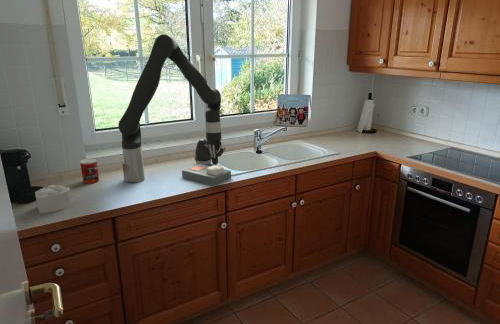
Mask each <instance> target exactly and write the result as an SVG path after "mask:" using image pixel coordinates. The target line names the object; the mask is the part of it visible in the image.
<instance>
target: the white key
mask: <svg viewBox="0 0 500 324" xmlns="http://www.w3.org/2000/svg"><path fill="white" fill-rule="evenodd" d="M210 166H211V167H209V168H207V174H211V175H215V176H216V175H219V174H221V173H223V172H224V171H223V169H224V167H223V166H219V165H210Z"/></svg>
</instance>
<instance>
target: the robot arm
mask: <svg viewBox="0 0 500 324" xmlns="http://www.w3.org/2000/svg"><path fill="white" fill-rule="evenodd" d="M167 59H169V60H170V61H171V62H172V63H174V65H176V67H177V68H178V69H179V70H180V72H181V74H182V75H183V77H184V78H185V79H186V81H187V82H188V83H189V84H190V85H191V86H192V88H194V90H195V91H196V93H197V94H198V96H199V98H200V99H201V101H202V102H203V103H204V104H206V105H207V107H206V110H205V114H204V116H205V140H207V144H206V145H204V146H203V147H204V149H205V150H206V152H207V154H208V155H209V156H211V157H212V161H211V164H212V166H214V165H215V166H217V165H218V163H219V157H222V156H223V154H224V152H225V151H226V147H224V146H223V144H222V139H223V138H222V123H221V114H220V112H221V111H220V110H221V105H222V104H221V103H222V96H221V92H220V90H218V89H217V88H211V87H210V85H208V81H207V79H206V78H205V76H204V75H203V74H202V72H200V71H199V69H197V67H196V66H195V65H194V64H193V63H192V62H191V61H190V59H188V57H187V56H186V54H184V51H183V50H182V49H181V47H180V46H179V44H178V43H177V41H176V39H175V38H174V37H172V36H170V35H168V34H160V35H158V36H157V37H156V38H155V40H154V42H153V45H152V48H151V50H150V54H149V57H148V60H147V62H146V64H145V66H144V68H143V70H142V72H141V73H140V76H139V78H138V80H137V82H136V85H135V87H134V89H133V92H132V94H131V99H130V101H129V104H128V106H127V108H126V110H125V112H124V113H123V115H122V117H121V118H120V120H119V121H118V125H117V126H118V131H119V132H120V133H121V139H122V140H121V150H122V159H123V162H122V163H121V165H122V172H123V173H122V174H123V179H124V181H125V182H127V183H131V184H133V183H137V182H138V183H139V182H142V181H144V180H145V179H146V177H145V170H144V169H145V167H144V159H143V158H144V157H143V150H142V131H141V123H140V121H141V119H142V116H143V114H144V112H145V110H146V109H147V107H148V106H149V104H150V103H151V102H152V99H153V97H154V96H155V94H156V93H157V89H158V87H159V85H160V80H161V76H162V69H163V67H164V64H165V62H166V61H167Z"/></svg>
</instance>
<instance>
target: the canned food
mask: <svg viewBox="0 0 500 324" xmlns="http://www.w3.org/2000/svg"><path fill="white" fill-rule="evenodd" d="M79 164H80V171H81V177H82V181H83V184H87V185H90V184H94V183H98V182H99V181H100V174H99V169H98V161H97V159H96V158H85V159H82V160H80V162H79Z"/></svg>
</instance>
